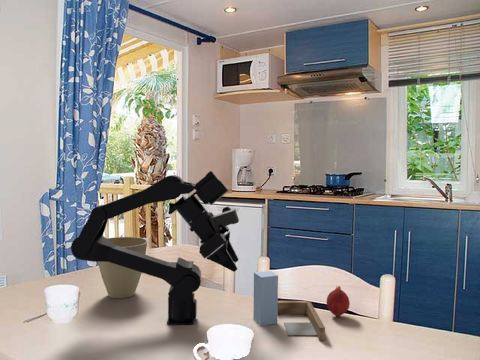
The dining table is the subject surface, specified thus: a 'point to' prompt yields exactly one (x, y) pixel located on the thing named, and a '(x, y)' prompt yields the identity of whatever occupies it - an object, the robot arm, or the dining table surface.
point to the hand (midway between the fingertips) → (236, 265)
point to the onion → (338, 302)
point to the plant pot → (122, 269)
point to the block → (265, 298)
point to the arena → (302, 328)
